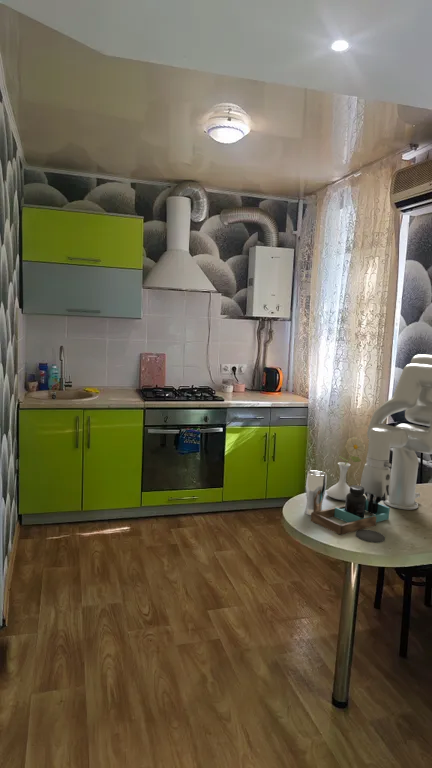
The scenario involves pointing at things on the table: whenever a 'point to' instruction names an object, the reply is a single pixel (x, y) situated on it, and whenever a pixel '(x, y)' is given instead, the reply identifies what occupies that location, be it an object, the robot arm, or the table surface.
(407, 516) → the table surface
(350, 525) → the walnut cubby
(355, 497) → the supplement bottle
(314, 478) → the beer glass
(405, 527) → the table surface
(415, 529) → the table surface
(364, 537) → the coaster
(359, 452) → the flower in vase
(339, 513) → the teal drawer
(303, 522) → the table surface
